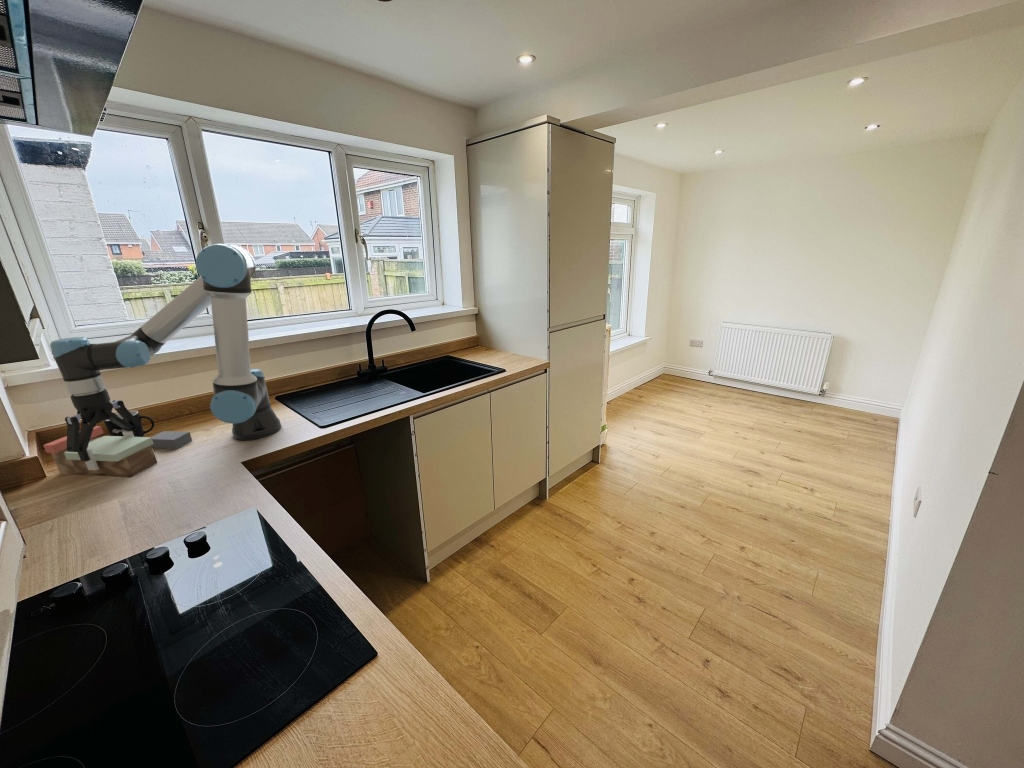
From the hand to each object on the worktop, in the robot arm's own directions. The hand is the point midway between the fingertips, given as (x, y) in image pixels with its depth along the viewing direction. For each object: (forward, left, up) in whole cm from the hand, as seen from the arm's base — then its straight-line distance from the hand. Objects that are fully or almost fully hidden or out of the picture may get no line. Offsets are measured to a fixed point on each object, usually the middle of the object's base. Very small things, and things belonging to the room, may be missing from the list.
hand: (114, 459), depth 122 cm
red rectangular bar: (+11, 0, +5) cm, 12 cm away
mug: (+14, -18, -4) cm, 23 cm away
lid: (0, 0, +3) cm, 3 cm away
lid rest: (-2, -16, -3) cm, 16 cm away
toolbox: (+3, 0, -3) cm, 4 cm away
